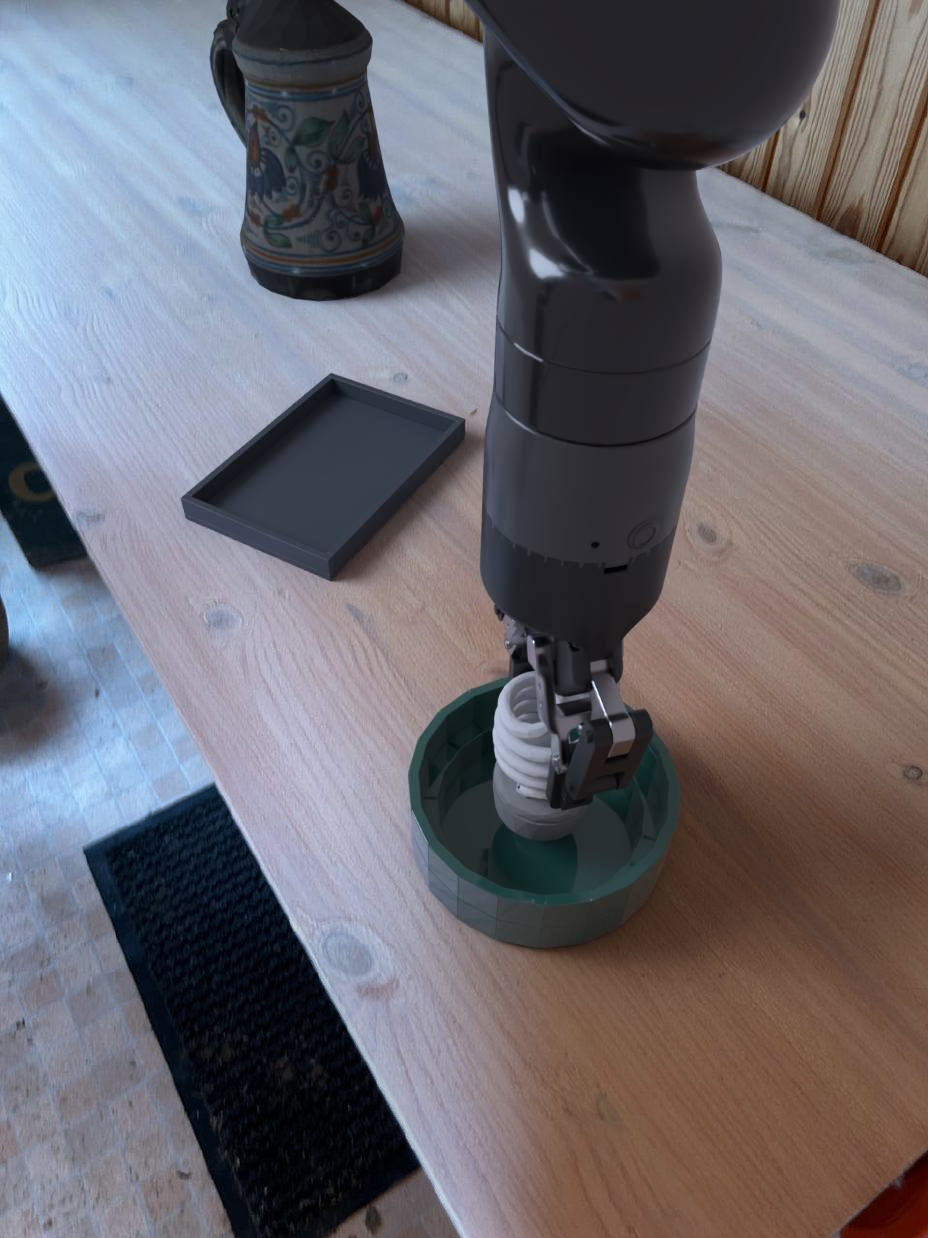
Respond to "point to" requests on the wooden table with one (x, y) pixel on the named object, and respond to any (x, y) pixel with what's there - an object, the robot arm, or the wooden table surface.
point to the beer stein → (307, 148)
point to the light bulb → (527, 765)
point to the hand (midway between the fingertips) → (548, 748)
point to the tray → (325, 474)
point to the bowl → (524, 868)
